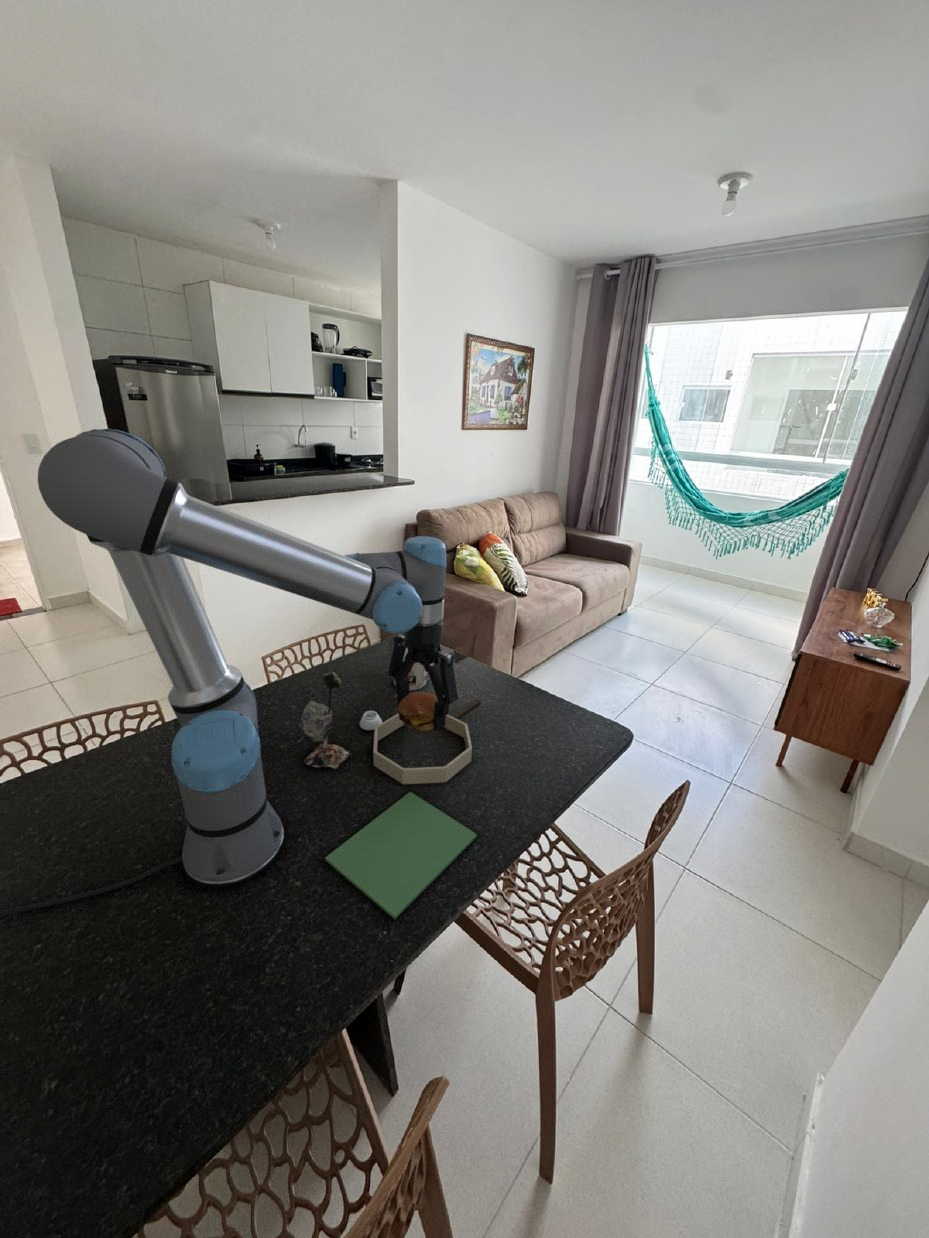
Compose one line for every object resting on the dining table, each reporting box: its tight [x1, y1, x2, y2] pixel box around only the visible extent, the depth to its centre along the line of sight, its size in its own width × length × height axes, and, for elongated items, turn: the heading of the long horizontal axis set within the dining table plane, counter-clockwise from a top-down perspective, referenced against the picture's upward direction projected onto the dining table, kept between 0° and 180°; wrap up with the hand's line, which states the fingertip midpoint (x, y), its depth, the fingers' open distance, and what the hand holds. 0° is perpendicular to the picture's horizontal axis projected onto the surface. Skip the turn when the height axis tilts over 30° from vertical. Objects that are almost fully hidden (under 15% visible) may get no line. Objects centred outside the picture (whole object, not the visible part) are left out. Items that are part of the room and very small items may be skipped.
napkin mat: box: [324, 791, 478, 920], centre depth 86 cm, size 20×16×1 cm
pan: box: [372, 698, 482, 785], centre depth 113 cm, size 30×20×4 cm
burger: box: [397, 691, 438, 732], centre depth 105 cm, size 10×9×5 cm
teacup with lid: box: [391, 647, 434, 692], centre depth 132 cm, size 12×9×12 cm
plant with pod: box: [297, 671, 353, 770], centre depth 102 cm, size 8×11×20 cm
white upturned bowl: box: [359, 710, 383, 731], centre depth 117 cm, size 5×3×5 cm
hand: (420, 717), depth 106 cm, fingers closed on burger, 9 cm apart
